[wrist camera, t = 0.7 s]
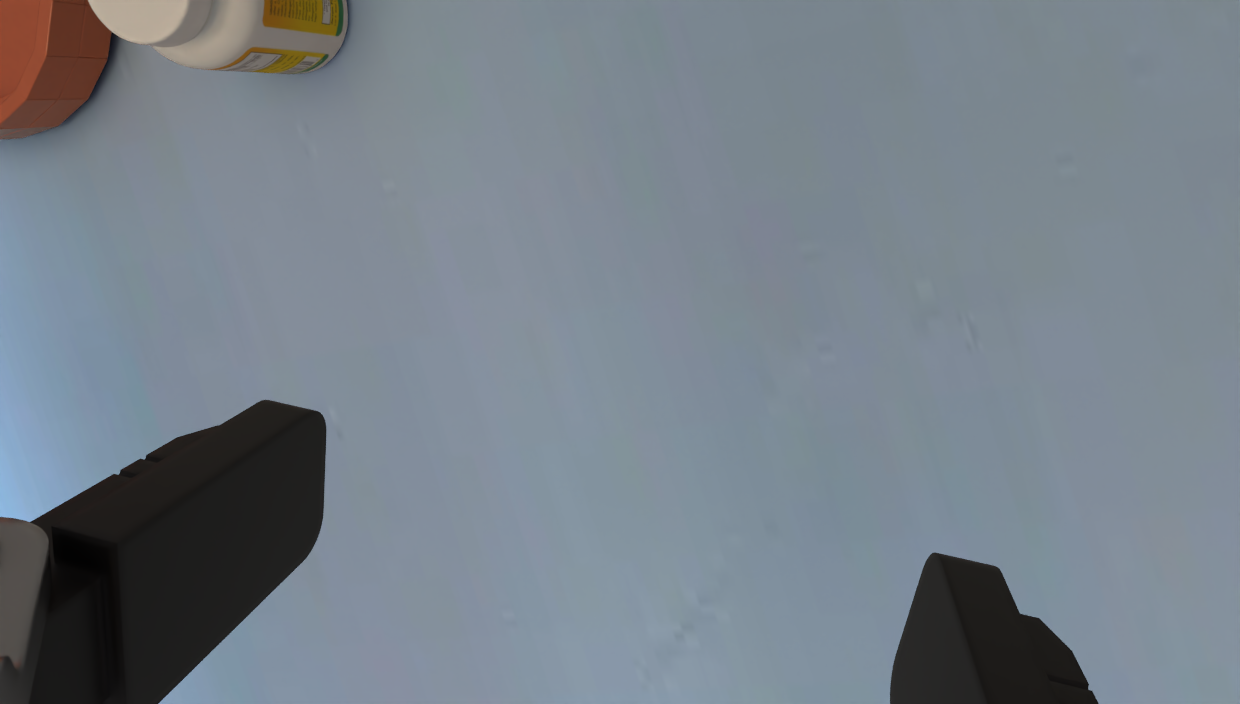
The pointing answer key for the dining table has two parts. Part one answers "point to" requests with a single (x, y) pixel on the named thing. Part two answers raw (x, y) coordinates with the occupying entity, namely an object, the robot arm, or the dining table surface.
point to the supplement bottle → (232, 31)
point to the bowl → (47, 62)
